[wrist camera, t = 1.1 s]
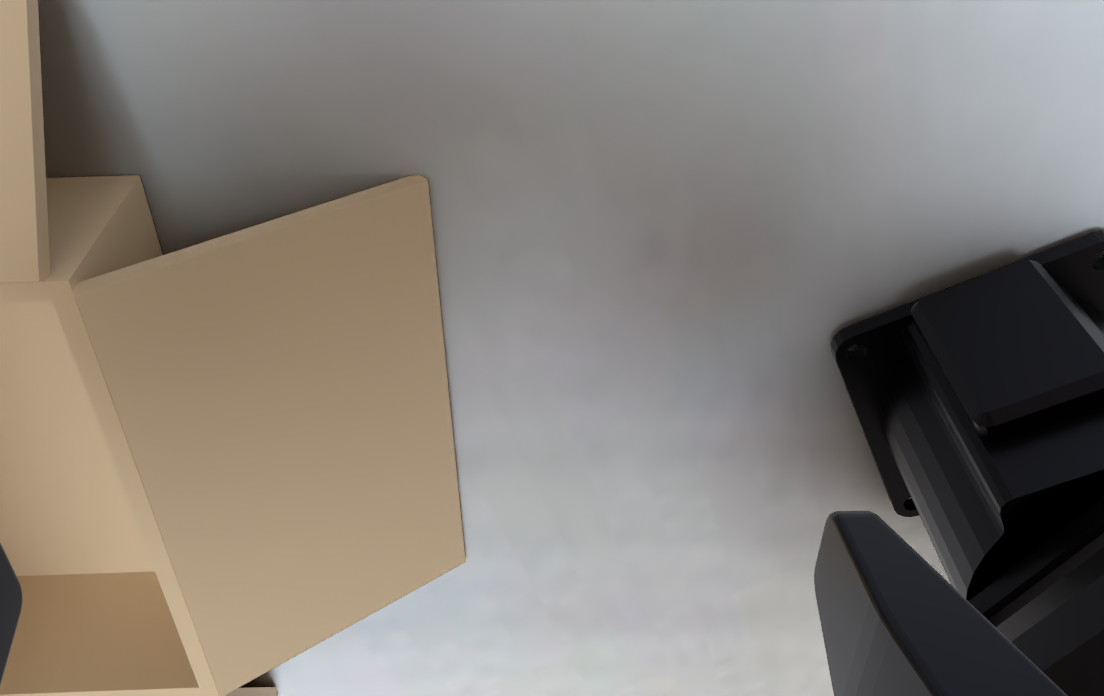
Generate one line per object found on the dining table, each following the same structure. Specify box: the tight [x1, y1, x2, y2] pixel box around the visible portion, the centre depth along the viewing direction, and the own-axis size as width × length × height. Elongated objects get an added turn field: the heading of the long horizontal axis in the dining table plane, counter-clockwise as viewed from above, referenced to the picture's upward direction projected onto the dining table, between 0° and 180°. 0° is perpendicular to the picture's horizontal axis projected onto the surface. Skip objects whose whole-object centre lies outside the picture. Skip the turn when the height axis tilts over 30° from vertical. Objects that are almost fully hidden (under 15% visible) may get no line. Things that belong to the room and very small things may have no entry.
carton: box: [0, 0, 465, 696], centre depth 22 cm, size 16×24×4 cm
